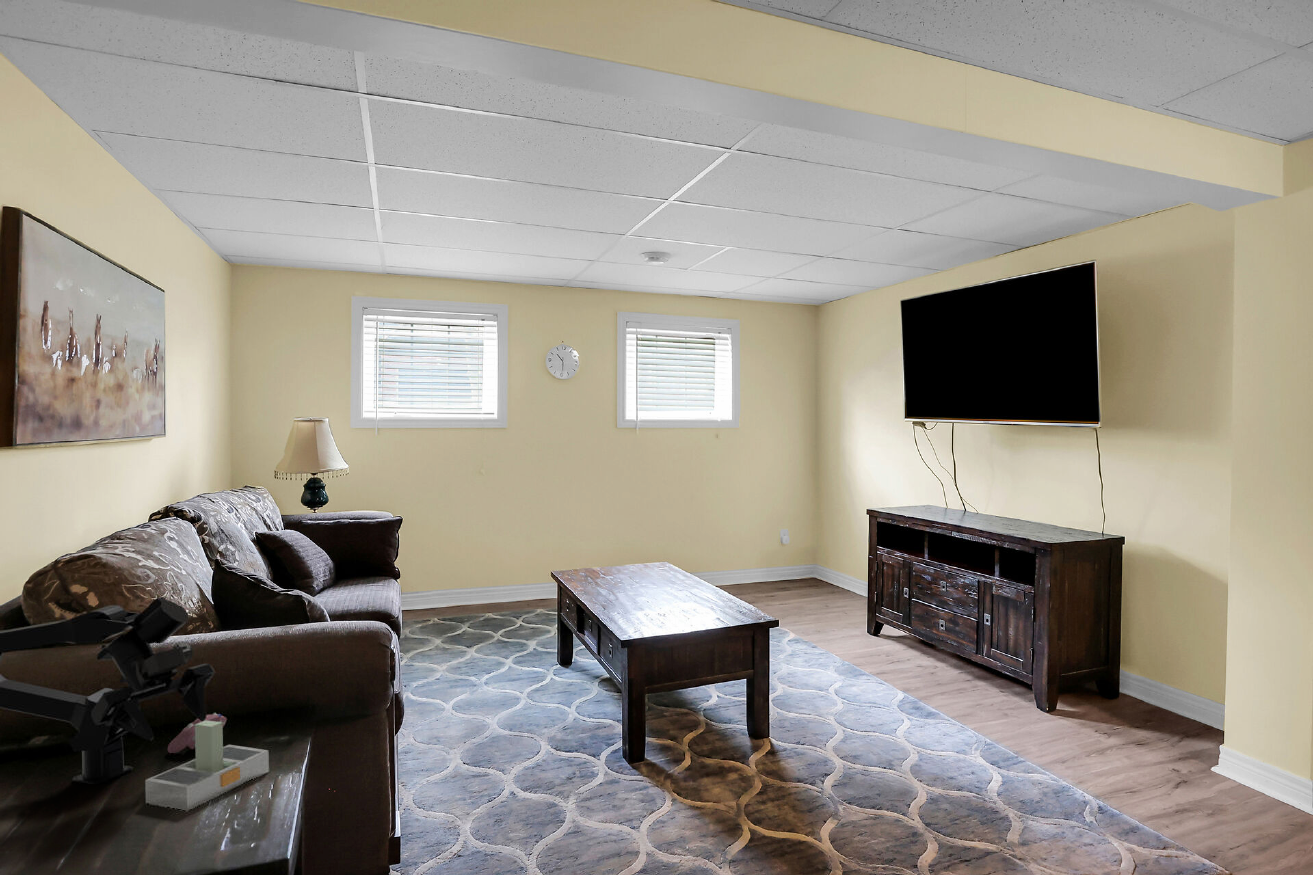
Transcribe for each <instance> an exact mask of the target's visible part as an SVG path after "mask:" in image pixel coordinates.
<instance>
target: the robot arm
mask: <svg viewBox="0 0 1313 875" xmlns="http://www.w3.org/2000/svg"><path fill="white" fill-rule="evenodd" d="M189 619H190V616H189V613H188V611H187V610H186V609H185V608H184V607H183V606H182V605H179V604H177V603H176V602H174V601H171V600H167V599H166V598H165V597H164V596H160V597H156V598H155V599H154V600H152V602H150V604H149V605H148V606H147V607H146V608H145V609H144V610H143V611H141V612H135V611H129V610H128V611H127V610H126V609H125V608H123V607H121V606H120V605H116V604H112V605H107V606H104V607H100V608H98V609H95V610H92V611H88V612H85V613H82V614H79V615H77V616H74V617H71V618H68V619H63V620H57V621H52V622H45V623H40V624H35V625H34V624H33V625H30V626H24V627H23V626H22V627H17V628H12V629H11V628H10V629H6V630H0V662H1V661H2V657H3V656H4V654H5V653H9V652H14V651H20V650H26V649H30V648H36V647H41V646H49V645H53V644H59V643H70V644H77V645H78V644H96V643H100V642H103V641H106V640H108V639H110V638H113V637H115V636H117V635H118V636H117V637H115V638H114V639H113V640H111V642H110V643H108V644H102V645H101V648H100V650H99V652H98V653H97V656H96V660H97V661H113V662H114V664H115V665H116V666H117V668H118V670H119V671H120V674H121V677H120V679H119V682H120V683H121V685H125V684H127V685H128V686H122V687H120V688H119V687H118V688H115V689H112V688H111V687H110V688H109V687H104V688H102V689H101V690H98V691H97V692H94V693H92V694H91V695H89V696H88V695H82V694H78V693H73V692H69V691H63V690H58V689H53V688H49V687H45V686H40V685H39V686H38V685H35V684H31V683H27V682H23V681H22V682H20V681H16V680H11V679H7V678H5V677H4V676H3V675H2V674H1V673H0V709H4V710H10V711H14V712H20V713H23V714H29V715H33V716H38V717H44V718H48V719H53V720H58V721H63V722H67V723H70V724H71V725H72V726H73V727H74V728H75V729H76V730H77V731H78V732H77V733H76V734H75V735H74V736H72V738H71V739H70V740H69V744H70V747H71V749H72V751H73V752H74V753H75V752H76V753H77V752H81V755H82V756H81V760H82V761H81V763H82V765H81V766H82V768H81V769H82V770H81V772H82V773H81V774H79V775H76V776H74V777H73V778H72V781H73V782H78V783H81V784H82V783H83V784H87V785H98V784H102V783H103V782H105V781H109V780H110V779H113V778H116V777H118V776H120V775H122V774H125V773H128V772H130V771H133V766H130V765H129V766H128V765H124V764H125V762H124V740H123V737H122V736H124V735H125V734H127V733H129V732H130V733H132V734H134V735H136V736H138V737H140V738H143V739H144V740H147V741H148V742H150V741H153V740H154V738H155V735H154V733H153V729H152V727H151V726H150V724H149V723H148V722H147V719H146V718H145V716H144V715H143V713H142V712H141V705H140V704H139V703H141V702H144V701H146V700H151V699H153V698H157V697H160V696H163V695H166V694H170V693H173V692H175V691H177V693H178V694H179V695H180V696H182V698H181V701H182V702H183V704H185V706H186V707H187V708H188V709H189V711H190V712H191V713H192V714H193V715H194V716H195V717H196V719H199V720H200V721H204V720H205V719H206V715H207V711H206V703H205V687H206V686H207V685H208V684H209V683H210V681H211V679H212V678H213V677H214V675H215V674H216V671H215V669H214V668H213V666H212V665H211V664H210V663H202V664H198V665H195V666H191V667H188V668H187V669H186V670H185V672H183V674H182V676H181V677H180V678H176V679H172V677H174V676H176V674H177V673H178V670H177V669H178V668H179V667H180V666H182V665H184V666H185V665H186V664H187V663H188V662H187V661H189V660H190V659H192V658H193V657H194V652H193V648H192V646H191V645H190V644H189V643H188V642H187V641H185V642H182V643H177V644H176V645H175V646H172V648H170V649H167V650H166V649H165V650H162V651H159V652H155V650H154V648H153V647H152V645H151V644H157V645H158V644H159V645H160V644H163V643H164V642H165V641H166V640H168V639H169V638H170V637H171V636H172V635H174V634H175V633H176V632H177V631H178V630H180V628H182V627H183V626H184V625H185V624H186V623H187V622H189ZM127 630H129V631H128V632H126V633H124V632H125V631H127ZM123 633H124V634H123Z"/></svg>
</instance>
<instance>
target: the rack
mask: <svg viewBox="0 0 1313 875" xmlns="http://www.w3.org/2000/svg"><path fill="white" fill-rule="evenodd" d="M269 757H270V756H269V750H267V749H262V748H254V747H248V746H242V745H241V746H240V745H233V744H227V745H225V746H223V770H221V771H219V772H217V773H216V772H211V771H205V770H199V769H196V758H194V759H192V760H190V761H187V762H185V763H182V764H180V765H178V766H175V767H173V768H171V769H168V770H165V771H163V772H161V773H159V774H157V775H154V776H151V777H149V778H147V779H145V781H144V783H145V804H147V803H149V805H152V806H157V805H158V807H163V808H167V807H170V808H169V809H172V808H175V809H174V810H177V809H183V810H186V811H185V812H189V811H188V810H189V809H192V810H193V808H194V809H196V808H198V807H199V806H198V805H200V806H202V805H204V804H205V803H206V804H207V803H208V802H210V801H211V800H210V799H212V800H214V799H216V798H218V797H220V796H221V795H220V794H222V795H223V793H224V792H226V793H228V792H229V791H228V790H230V789H232V788H234V787H236V786H239V785H241V784H243V783H244V782H246V781H249V780H251V779H253V780H255V779H257V778H259V777H261V776H263V775H266V774H267V773H269V772H270V766H269V764H270V762H269V760H270V759H269ZM256 777H257V778H256ZM254 778H255V779H254ZM251 781H252V780H251ZM249 782H250V781H249ZM243 785H244V784H243ZM241 786H242V785H241ZM239 787H240V786H239ZM227 791H228V792H227ZM230 791H231V790H230ZM224 794H225V793H224ZM219 795H220V796H219ZM217 796H218V797H217ZM215 797H216V798H215ZM213 798H214V799H213ZM209 800H210V801H209ZM207 801H208V802H207ZM203 803H204V804H203ZM201 804H202V805H201ZM197 806H198V807H197ZM195 807H196V808H195ZM176 808H177V809H176Z"/></svg>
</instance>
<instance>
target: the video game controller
mask: <svg viewBox="0 0 1313 875" xmlns="http://www.w3.org/2000/svg"><path fill="white" fill-rule="evenodd" d="M206 720H207V721H215V722H222V729H223V728H224V726H225V725H226V722H227V720H228V719H227V717H225V716H223V715H222V714H220V713H218V714H217V713H216V712H214V713H212V714H206V719H205V720H204V721H206ZM200 722H203V721H200V720H199V719H198V718H196V719H195V720H194V721H193V722H191V723H188V724H187V726H186V727H184V728H183V729H182V731H181V732H180V733H178V735H177V736H176V737H175V738H174V739H172V740H171V742H169V744H168V746H167V751H168V753H169V754H171V753H174V754H177V753H180V752H181V751H182V750H184V749H186V747H188V748H190V749H191V750H195V749H194V748H195V724H198V723H200Z"/></svg>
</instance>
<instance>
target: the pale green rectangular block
mask: <svg viewBox="0 0 1313 875" xmlns="http://www.w3.org/2000/svg"><path fill="white" fill-rule="evenodd" d="M223 737H224V734H223V728H222V722H215V721H207V720H206V721H203V722H200V723H198V724H195V749H194V750H195V759H196V769H199V770H205V771H211V772H216V773H217V772H219V771H221V770H223V747H224V743H223V742H224V740H223Z"/></svg>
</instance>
